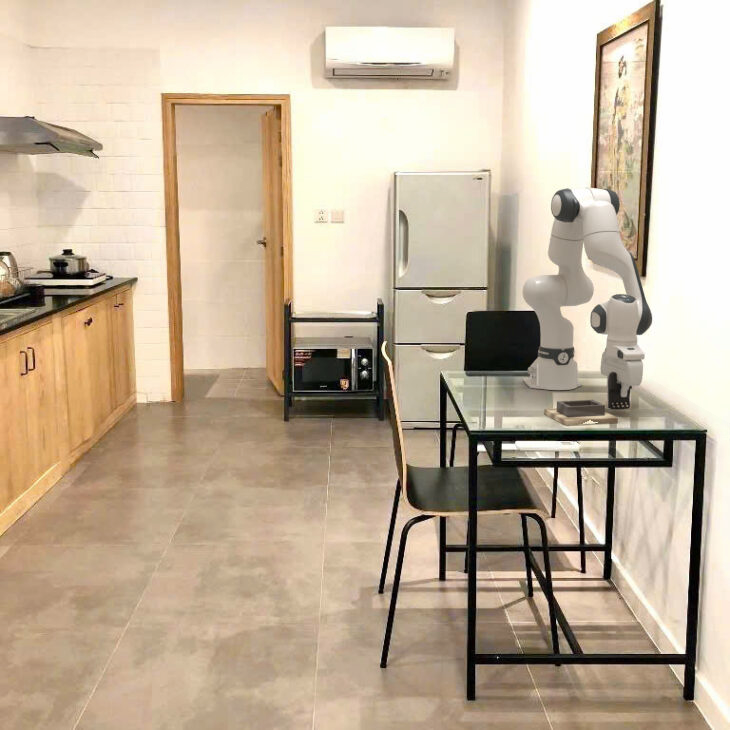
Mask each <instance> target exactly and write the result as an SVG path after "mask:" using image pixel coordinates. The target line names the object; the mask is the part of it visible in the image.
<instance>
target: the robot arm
mask: <svg viewBox="0 0 730 730" xmlns="http://www.w3.org/2000/svg"><path fill="white" fill-rule="evenodd" d="M620 203H621V201H620V198H619V195H618V194H617V192H616V191H614V190H611V189H609V188H595V187H585V188H584V187H583V188H580V187H578V188H563V189H558V190H557V191H556V192H555V193H554V194H553V196H552V198H551V203H550V210H551V214H552V216H553V217H554V220H553V222H552V226H551V232H550V239H549V245H548V250H547V256H548V258H549V261H551V262H552V264H555V266H558V271H557V272H558V273H557V274H542V275H541V274H540V275H537V276H534V277H533V276H532V277H530V278H527V279H526V280H525V282H524V284H523V285H522V298H523V300H524V302H525V303H526V304H527V305H528V306H529V307H530V308H532V309H533V311H534V312H535V314H536V316H537V319H538V322H539V327H540V329H539V330H540V346H538V351H537V358H536V359H535V360H534V361H533V362H532V364H530V366H529V367H527V374H529V377H528V376H527V377H524V378H523V379H522V380H523V382H524V383H525V384H526V385H527V386H528V388H530V389H540V390H548V391H550V390H551V391H568V390H569V391H570V390H574V389H576V388H578V387H581V386H582V382H579V375H578V372H579V371H578V362H576V361H575V359H574V357H575V352H576V351H575V347H574V330H575V329H574V324H573V323H572V321H570V320H569V319H568V318H567V317H564V316H563V314H562V311H561V307H562V308H563V307H577V306H580V305H584V304H587V303H589V302H590V301H591V299H592V298H593V296H594V291H595V289H594V288H595V287H594V282H593V281H592V280H591V278H590V277H589V276H588V275H587V274H586V273H585V271H584V267H583V263H582V256H583V248H584V253H585V255H586V256H587V258H588V259H589V260H590V261H591V262H593V263H594V264H596V265H598V266H600V267H604V268H606V269H609V270H611V271H612V272H615V273H616V274H617V275H619V277H620V278H621V280H622V283H623V286H624V290H625V293H616V294H613V295H611V296H610V297H609V300H607V301H605V302H603V303H600V304H597V305H596V306H594V308H593V309H592V310H591V312H590V318H589V323H590V327H591V328H592V329H593V331H594V332H595V333H597V334H601V335H607V337H606V344H605V348H604V351H603V352H602V355H601V359H600V360H601V361H600V368H599V369H600V373H601V375H603V376H605V377H607V376H608V374H609V373H610V372H612V371H613V372H615V373H616V374H617V380H618V381H619V382H621V386H622V388H621V390H620V391H619V393H620V394H619V395H620V396H621V397H627V391H628V389H629V387H630V386H632V387H637V386H638V387H639V386H641V384H642V382H643V375H644V373H643V372H644V363H643V360H645V356H646V355H645V354H646V353H645V352H644V351H643V350H642V348H641V347H640V346H639V345H638V336H642V335H643V334H645V333H646V332H647V331H648V330H649V329H650V327H651V325H652V323H653V315H652V310H651V308H650V305H649V303H648V302H647V298H646V295H645V291H644V288H643V285H642V281H641V277H640V274H639V269H638V266H637V263H636V261H635V258H634V255H633V254H632V253H631V252H630V251H628V250H627V249H626V247H625V245H624V244H623V241H622V237H621V232H620V225H619V220H618V216H617V215H618V214H619V212H620V207H621V205H620Z"/></svg>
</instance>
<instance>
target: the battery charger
mask: <svg viewBox="0 0 730 730" xmlns="http://www.w3.org/2000/svg"><path fill="white" fill-rule="evenodd" d="M621 388H622V386H621V382H619V381H618V380H617V374H616V373H615V372H613V371H612V372H610V373H609V374H608V376H606V397H607V398H606V408H607V409H608V410H629V409H630V407H631V403H630V402H631V401H630V398H631V390H632V389H633V386H630V387H629V389H628V391H627V397H621V396H620V395H619V394H620V393H619V391H620V390H621Z"/></svg>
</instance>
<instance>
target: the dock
mask: <svg viewBox="0 0 730 730" xmlns="http://www.w3.org/2000/svg"><path fill="white" fill-rule="evenodd" d="M543 411H544V412H543V414H544V415H546V416H547V417H549V418H550V419H552V420H555V421H556V422H558V423H560V424H561V425H563V426H565V427H569V426H568V425H573V426H580V425H579V424H583V423H585V422H587V421H589V420H591V421H593V422H598V423H609V424H618V423H619V417H617V416H615V415H613V414H611V413H609V412H607V411H606V405H605V404H602V403H600V402H598V401H597V400H595V399H584V400H583V399H579V400H561V401H559V400H558V401H556V408H544V410H543Z"/></svg>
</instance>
